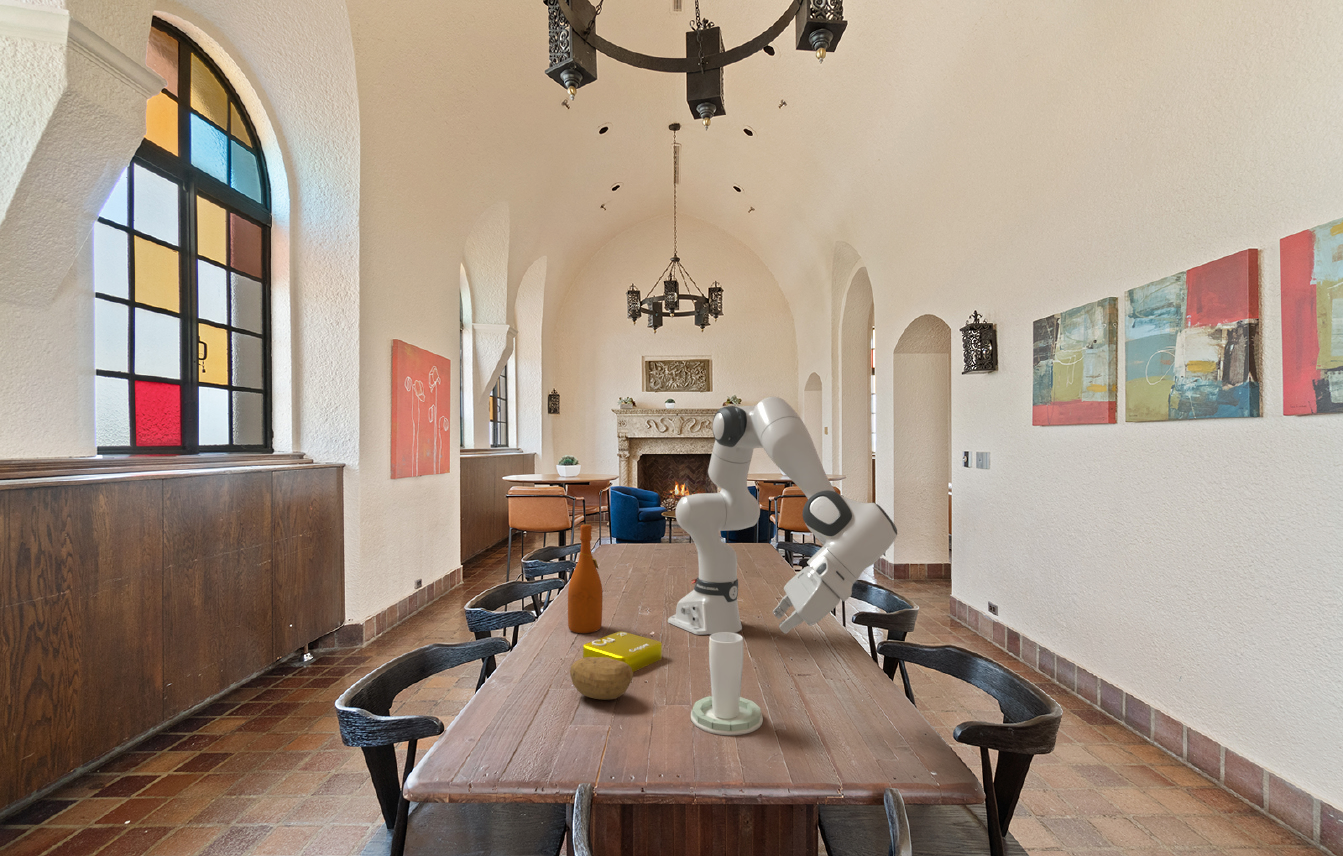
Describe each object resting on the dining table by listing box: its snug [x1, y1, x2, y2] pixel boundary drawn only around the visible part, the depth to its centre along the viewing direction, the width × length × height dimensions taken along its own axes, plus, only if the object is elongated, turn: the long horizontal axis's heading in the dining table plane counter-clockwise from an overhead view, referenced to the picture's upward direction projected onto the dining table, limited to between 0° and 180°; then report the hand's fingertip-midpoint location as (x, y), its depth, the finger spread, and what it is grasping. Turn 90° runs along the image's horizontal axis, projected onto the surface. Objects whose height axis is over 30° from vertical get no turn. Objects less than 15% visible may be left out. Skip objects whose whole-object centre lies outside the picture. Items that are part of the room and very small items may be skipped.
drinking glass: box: [708, 632, 744, 719], centre depth 120 cm, size 7×7×15 cm
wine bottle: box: [567, 523, 604, 634], centre depth 175 cm, size 10×10×30 cm
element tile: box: [582, 630, 663, 673], centre depth 151 cm, size 15×15×5 cm
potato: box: [569, 657, 634, 701], centre depth 128 cm, size 10×14×8 cm
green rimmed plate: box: [690, 695, 764, 737], centre depth 119 cm, size 14×14×2 cm
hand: (778, 622), depth 119 cm, fingers open, 8 cm apart
